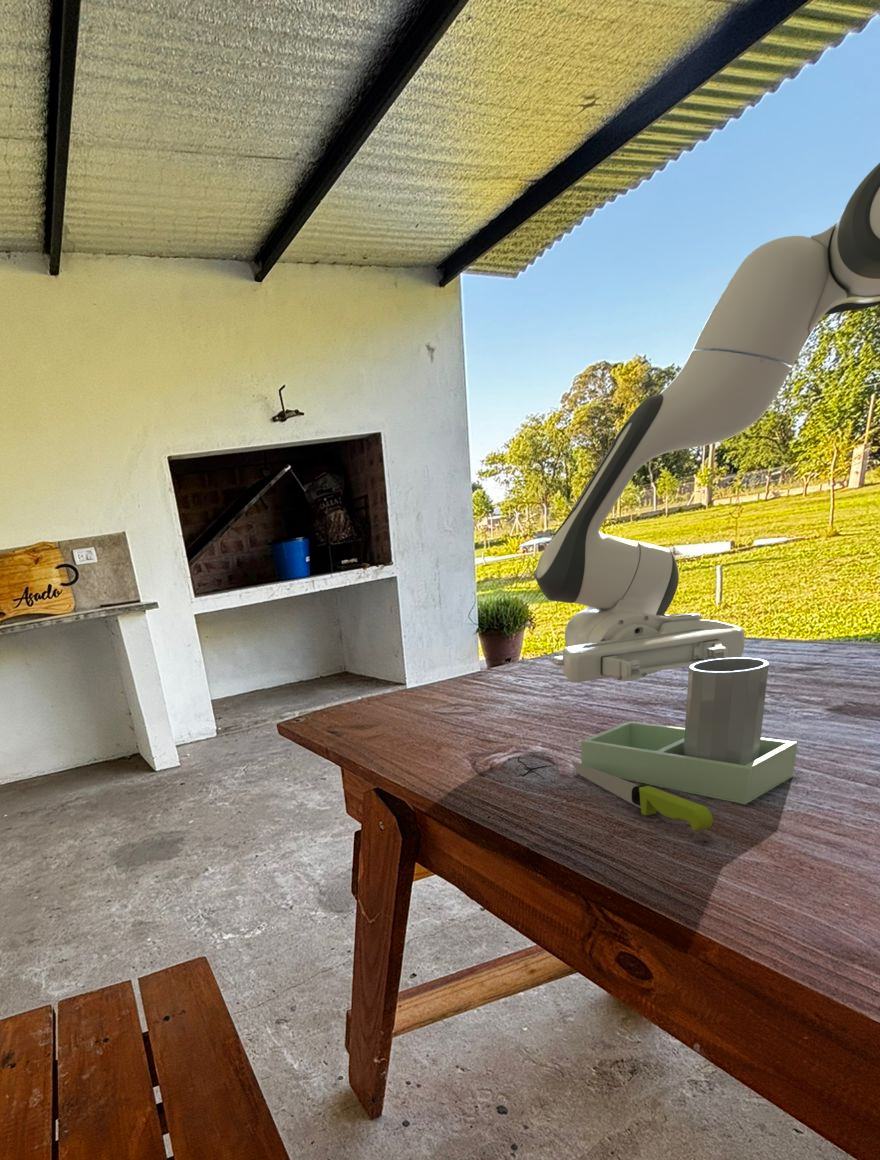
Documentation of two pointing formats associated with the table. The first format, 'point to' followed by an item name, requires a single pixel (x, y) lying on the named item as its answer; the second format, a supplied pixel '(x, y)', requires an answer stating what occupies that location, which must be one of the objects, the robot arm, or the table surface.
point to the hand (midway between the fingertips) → (677, 663)
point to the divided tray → (685, 762)
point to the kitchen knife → (650, 798)
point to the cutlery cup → (725, 709)
